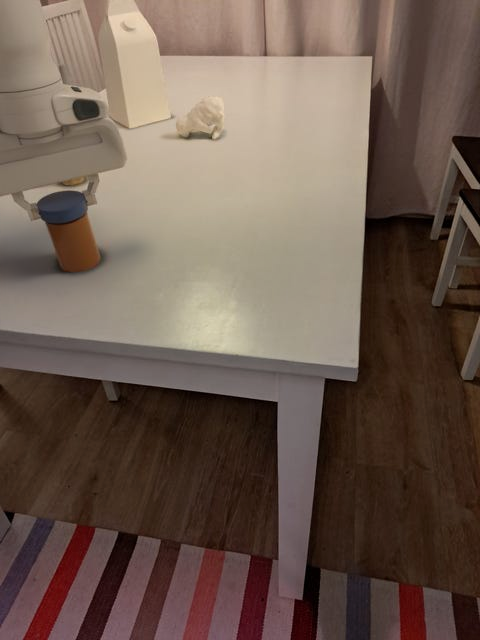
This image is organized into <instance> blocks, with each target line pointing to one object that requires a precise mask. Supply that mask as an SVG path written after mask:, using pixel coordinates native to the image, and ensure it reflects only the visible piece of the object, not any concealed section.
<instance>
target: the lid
mask: <svg viewBox="0 0 480 640" xmlns="http://www.w3.org/2000/svg"><path fill="white" fill-rule="evenodd" d="M36 204H37V207H38V209H39V213H40V215H41V218H40V220H42V221H43V222H44V223H45V222H48V223H64V222H69V221H72V220H75V219H78V218H80V217H81V216H83V215H84V214H85V213H86V212H87V213H88V210H89V206H87V203H86V200H85V196H84V194H83V193H82V191H79V190H72V189H71V190H70V189H69V190H60V191H56V192H55V191H54V192H51V193H49V194H46V195H44V196H43V197H41V198H40V199H39V200H38V201H37V202H36Z"/></svg>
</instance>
